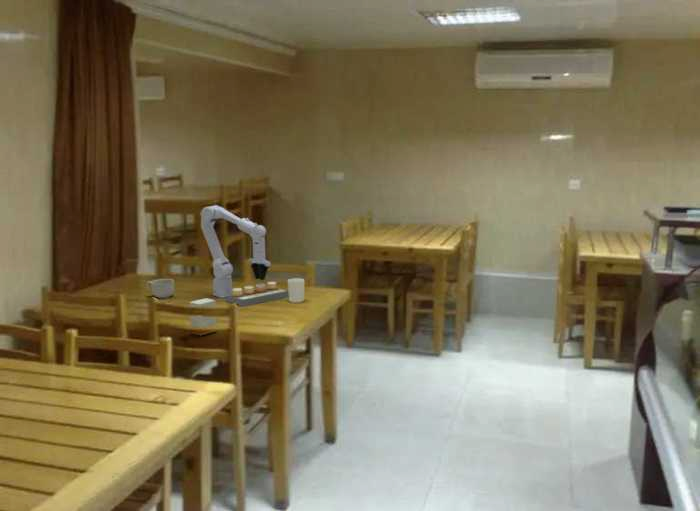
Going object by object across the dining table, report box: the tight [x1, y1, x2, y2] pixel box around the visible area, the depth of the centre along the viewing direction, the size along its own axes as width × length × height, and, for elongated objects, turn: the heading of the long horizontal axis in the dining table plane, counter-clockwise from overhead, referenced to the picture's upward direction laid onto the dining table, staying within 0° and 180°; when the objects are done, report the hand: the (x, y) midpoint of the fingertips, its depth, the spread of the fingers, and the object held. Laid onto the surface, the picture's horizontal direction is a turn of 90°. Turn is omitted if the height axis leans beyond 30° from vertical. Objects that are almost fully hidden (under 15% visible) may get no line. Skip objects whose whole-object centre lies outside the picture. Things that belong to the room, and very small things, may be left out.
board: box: [225, 287, 289, 308], centre depth 314 cm, size 14×26×3 cm, turn 132°
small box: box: [188, 298, 218, 328], centre depth 259 cm, size 8×6×13 cm
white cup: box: [287, 277, 306, 304], centre depth 309 cm, size 8×8×10 cm
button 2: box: [243, 285, 255, 295], centre depth 313 cm, size 4×4×4 cm
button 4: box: [266, 281, 277, 291], centre depth 322 cm, size 4×4×4 cm
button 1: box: [232, 287, 243, 298], centre depth 309 cm, size 4×4×4 cm
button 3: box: [255, 283, 266, 293], centre depth 318 cm, size 4×4×4 cm
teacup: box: [146, 278, 175, 299], centre depth 323 cm, size 14×11×8 cm
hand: (260, 279), depth 317 cm, fingers open, 3 cm apart
